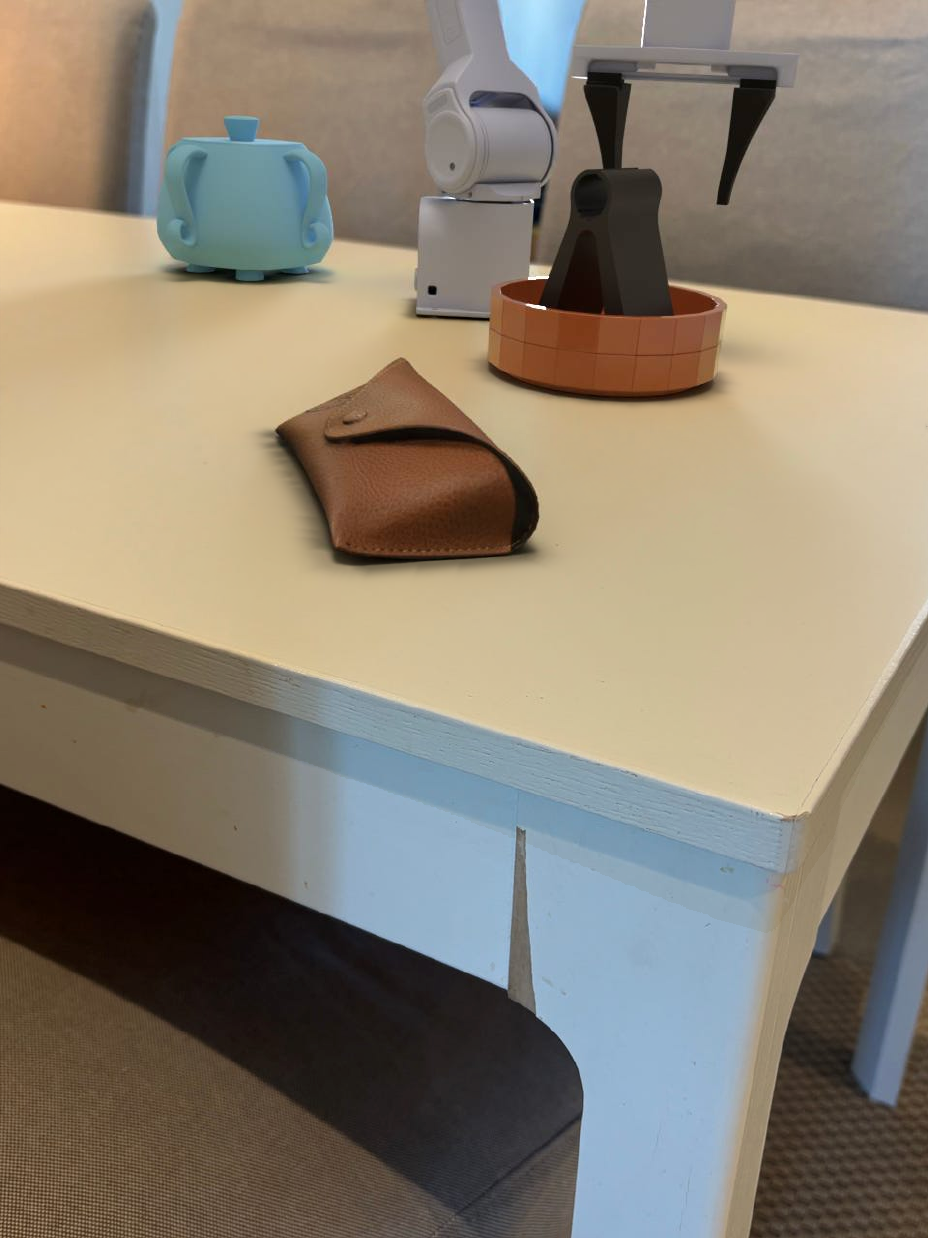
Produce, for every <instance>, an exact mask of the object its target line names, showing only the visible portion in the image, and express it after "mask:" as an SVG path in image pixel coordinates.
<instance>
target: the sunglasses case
mask: <svg viewBox="0 0 928 1238" xmlns="http://www.w3.org/2000/svg"><path fill="white" fill-rule="evenodd" d="M274 431H275V433H276V434H277V435H278V437H280V438H281V439H282V441H284V442H285V443H286V445H287V446H288V447H289V448H290V450H291V451H292V452H293V454H294V455H295V457H296V458H297V460H298V461H299V463H300V465H301V466H302V468H303V470H304V471H305V473H306V475H307V477H308V479H309V481H310V483H311V485H312V486H313V488H314V490H315V493H316V495H317V497H318V499H319V502H320V504H321V507H322V508H323V511H324V514H325V517H326V519H327V523H328V526H329V527H328V528H329V535H330V542H331V544H332V546H333V548H334V549H335V551H341V552H342V553H343V552H344V553H347V554H350V555H354V556H358V557H373V558H374V557H375V558H388V559H401V560H434V559H435V560H439V559H440V560H441V559H454V558H455V559H456V558H473V557H491V556H497V555H505V556H506V555H509V554H511V553H513V552H515V550H517V549H519V548H521V547H523V546H524V545H525V544H526V543H527V542H528V541H529V539H530V538H531V537H532V536H533V534H534V533H535V531H536V530H537V527H538V524H539V521H540V509H539V508H540V502H539V501H538V499H539V498H538V494H537V492H536V490H535V488H534V486H533V483H532V482H531V481H530V480H529V479H530V478H529V477H528V475H526V473H525V472H524V471H523V470H522V469H521V467H520V465H519V464H517V463H516V461H514V459H513V458H512V457H511V456H509V455H508V454H507V452H505V451H503V450H502V449H501V448H499V446H497V444H496V443H494V442H493V440H492V439H491V438H490V437H489V436H488V435H487V434H486V433H485V432H484V431H483V430H482V428H480V427H479V425H478V424H476V423H475V422H474V421H473V420H472V419H471V418H470V417H469V416H468V415H467V414H466V413H464V412H463V410H461V409H460V408H459V407H458V406H457V404H455V403H454V402H453V401H452V400H451V399H449V398H448V397H447V396H446V395H445V394H443V392H441V391H440V389H438V388H437V387H436V386H434V385H433V384H432V383H430V382H429V381H428V380H426V378H424V376H422V375H421V374H420V373H419V372H418V371H417V370H416V369H415V368H414V366H412V364H411V363H410V362H409V361H408V360H407V358H405V357H401V356H400V357H398V358H396V359H394V360H393V361H391V362H390V363H388V364H387V365H386V366H384V367H383V368H382V369H381V370H380V371H378V372H377V373H376V374H375V375H374V376H373V377H372V378H370V379H369V380H368V381H367V382H366V383H363V384H362V385H359V386H357V387H355V388H353V389H351V390H349V391H347V392H344V393H342V394H339V395H337V396H335V397H333V398H331V399H329V400H327V401H325V402H323V403H320V404H318V405H316V406H314V407H312V408H309V409H307V410H305V411H303V412H301V413H300V414H297V415H294V416H292V417H291V418H288V419H287V420H285V421H284V422H282V423H280V424H278V426H277V427H276V428H275V429H274Z"/></svg>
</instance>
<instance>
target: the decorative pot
mask: <svg viewBox="0 0 928 1238" xmlns="http://www.w3.org/2000/svg"><path fill="white" fill-rule="evenodd" d="M222 120H223V124H224V127H225V130H226V133H227V135H228V137H223V136H221V137H217V136H215V137H214V136H212V137H211V136H209V137H202V136H201V137H200V136H199V137H180V139H179V140H177V141H176V142H175V143H173V144H172V145H171V146H170V147H169V149H168V151H166V156H165V163H164V176H163V179H162V182H161V185H160V190H159V195H158V201H157V208H156V209H157V210H156V233H157V236H158V239H159V240H160V242H161V244H162V246H163V247H164V248H165V251H166V252H167V253H168V254H169V256H170V257H171V258H172V259H173V260H176V261H179V262H183V263H186V264H188V266H187V267H186V269H185V271H186V272H190V273H211V272H214V271H215V269H216V268H220V269H230V270H235V280H239V281H245V282H247V281H248V282H250V281H251V282H254V281H256V282H258V281H263V280H265V276H264V271H274V270H280V271H281V272H282V273H285V274H296V275H297V274H307V273H309V270H308V268H307V266H312V265H313V266H314V265H317V264H320V263H321V262H322V261H323V260H324V258H325V257H326V255H327V253H328V251H329V250H330V248H331V247H332V244H333V242H334V224H333V215H332V211H331V205H330V200H329V198H328V195H327V192H328V173H327V169H326V167H325V164H324V163H323V161H322V159H320V157H319V156H317V155H316V154H315V153H313V152H312V151H309V150H308V148H307V146H306V145H304V143H303V142H297V141H296V142H295V141H289V140H288V141H287V140H278V139H264V138H256V136H257V132H258V130H259V125H260V119H259V118H257V117H254V116H246V115H245V116H244V115H229V116H224V117H223V118H222Z"/></svg>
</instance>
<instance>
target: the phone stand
mask: <svg viewBox="0 0 928 1238" xmlns="http://www.w3.org/2000/svg"><path fill="white" fill-rule="evenodd" d="M569 195H570V196H569V198H570V213H569V219H568V223H567V226H566V229H565V231H564V233H563V237H562V240H561V242H560V245H559V247H558V250H557V253H556V254H555V255H556V256H555V258H554V261H553V263H552V266H551V268H550V271H549V274H548V276H547V277H548V279H547V282H546V284H545V287H544V290H543V292H542V295H541V298H540V300H539V303H538V306H540V307H545V308H551V309H557V310H563V311H572V312H581V313H590V314H600V315H601V313H602V310H603V307H604V313H605V315H618V316H674V313H673V307H672V302H671V296H670V290H669V285H670V284H669V279H668V273H667V266H666V262H665V256H664V255H665V254H664V249H663V243H662V238H661V233H660V232H661V231H660V225H659V210H660V205H661V200H662V196H663V185H662V181H661V178H660V175H658V173H657V172H656V171H655V170H654V169H652V168H639V167H638V166H637V167H622V168H611V169H603V168H588V169H584V170H582V171H581V172H580V173H578V174H577V175H576V177H575V179H574V181H573V182H572V185H571V188H570V193H569Z"/></svg>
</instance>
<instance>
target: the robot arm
mask: <svg viewBox="0 0 928 1238" xmlns="http://www.w3.org/2000/svg"><path fill="white" fill-rule="evenodd" d="M423 1H424V6H425V7H424V8H425V11H426V15H427V20H428V24H429V27H430V32H431V36H432V40H433V41H432V42H433V45H434V50H435V54H436V59H437V62H438V67H439V72H440V75H441V76H440V77H439V78H438V79H437V81H436V82H435V83H434V84H433V86H432V87H431V89H429V92H427V94H426V96H425V97H424V99H423V101H422V102H421V105H420V107H421V112H422V115H423V119H424V129H425V130H424V132H425V136H424V158H425V164H426V168H427V171H428V173H429V176H430V177H431V180H432V181H433V183H434V184H435V185H436V186H437V195H438V196H422V197H420V201H419V212H418V227H417V228H418V232H417V267H416V268H415V269H414V282H413V287H414V289H413V290H414V291H415V292H416V306H415V313H416V315H421V316H439V317H441V316H442V317H458V318H459V317H460V318H462V317H463V318H482V319H490V304H491V287H492V286H494V285H497V284H499V283H501V282H504V281H510V280H516V279H522V278H530V267H531V266H530V265H531V252H532V238H533V237H532V236H533V224H534V223H533V222H534V208H535V201H534V200H537V199H541V193H542V192H541V191H542V187H543V186H545V185H546V183H548V181H549V180H550V179H551V177H552V175H553V174H554V172H555V169H556V167H557V162H558V159H559V147H560V144H559V136H558V131H557V129H556V127H555V123H554V122H553V120H552V119H551V117H550V116H549V114H548V113H547V111H546V110H545V108H544V106H543V104H542V101H541V98H540V95H539V89H538V85H536V83H535V82H534V81H533V80H532V79H531V78H530V77H529V76H528V75H527V74H526V73H525V72H524V71H523V70H522V69H521V68H520V67H519V66H518V65H517V64H516V63H515V62H514V61H513V60H512V58H511V57H510V53H509V48H508V44H507V40H506V36H505V31H504V25H503V22H502V18H501V12H500V9H499V4H498V0H423ZM736 3H737V0H645V6H644V17H643V26H642V34H641V35H642V36H641V45H640V46H629V45H628V46H626V45H624V46H623V45H622V46H621V45H620V46H619V45H588V44H587V45H584V44H580V45H579V44H573V46H572V56H571V57H572V60H571V71H570V77H571V78H576V79H586V80H585V84H583V86H582V88H583V93H584V97H585V101H586V103H587V107H588V110H589V112H590V115H591V119H592V122H593V126H594V129H595V133H596V137H597V141H598V146H599V151H600V156H601V164H602V169H611V168H623V147H624V138H625V129H626V123H627V116H628V109H629V103H630V97H631V92H632V83H629V82H625V81H647V82H648V81H649V82H669V83H672V82H673V83H689V84H690V83H692V84H710V85H711V84H712V85H713V84H714V85H734V87H733V92H732V100H731V109H730V111H731V112H730V119H729V127H728V135H727V141H726V142H727V143H726V151H725V156H724V161H723V165H722V169H721V170H722V171H721V175H720V179H719V184H718V188H717V194H716V195H717V197H716V206H728V205H729V204H730V201H731V197H732V196H731V195H732V191H733V187H734V185H735V182H736V179H737V176H738V174H739V173H738V172H739V170H740V168H741V166H742V162H743V160H744V158H745V156H746V153H747V151H748V148H749V147H750V144H751V142H752V140H753V139H754V136H755V134H756V132H757V131H758V129H759V127H760V125H761V123H762V122H763V120H764V118H765V116H766V114H767V113H768V111H769V109H770V107H771V106H772V104H773V102H774V100H775V99H776V94H777V93H776V92H777V88H787V89H788V88H789V89H792V88H794V87H795V82H796V76H797V70H798V63H799V58H800V55H799V53H793V52H792V53H789V52H769V51H768V52H767V51H752V50H751V51H749V50H733V49H732V50H731V49H730V47H731V45H730V44H731V40H732V39H731V38H732V31H733V25H734V18H735V17H734V16H735V12H736V11H735V9H736ZM656 64H657V65H671V66H672V65H675V66H694V67H695V66H696V67H697V66H698V67H699V66H701V67H710V69H709V70H710V72H712V73H721V74H727V75H718V74H698V73H697V74H695V73H674V72H673V73H672V72H650V71H639V70H652V71H655V70H656ZM735 86H739V87H735Z"/></svg>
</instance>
